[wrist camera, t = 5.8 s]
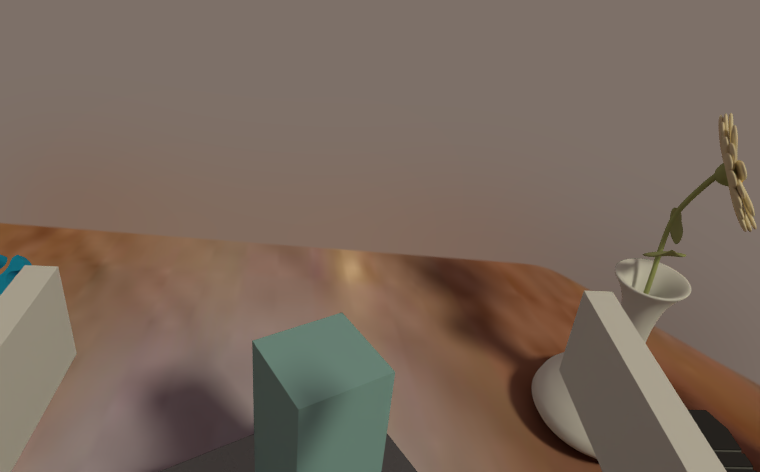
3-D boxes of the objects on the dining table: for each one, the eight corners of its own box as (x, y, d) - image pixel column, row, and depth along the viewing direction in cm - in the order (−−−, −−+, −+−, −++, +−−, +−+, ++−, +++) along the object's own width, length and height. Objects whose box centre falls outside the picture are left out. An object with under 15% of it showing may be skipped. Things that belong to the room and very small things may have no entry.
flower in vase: (634, 508, 42) (790, 181, 30) (499, 412, 49) (579, 111, 36) (703, 415, 51) (847, 129, 38) (579, 344, 57) (668, 79, 44)
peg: (256, 541, 38) (252, 340, 30) (327, 505, 40) (342, 312, 32) (292, 614, 34) (298, 409, 26) (367, 570, 37) (395, 372, 29)
